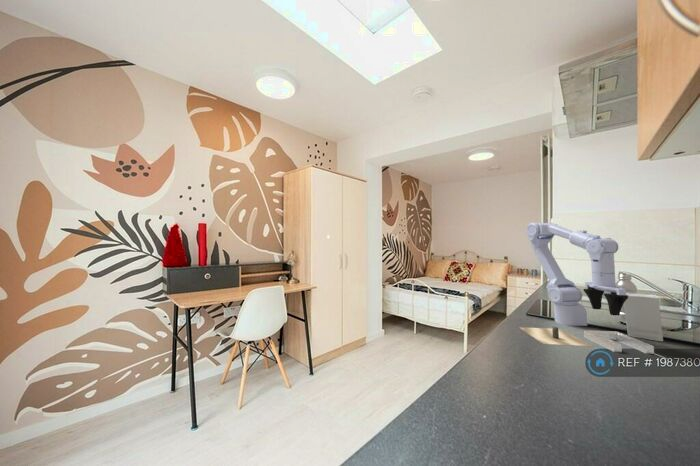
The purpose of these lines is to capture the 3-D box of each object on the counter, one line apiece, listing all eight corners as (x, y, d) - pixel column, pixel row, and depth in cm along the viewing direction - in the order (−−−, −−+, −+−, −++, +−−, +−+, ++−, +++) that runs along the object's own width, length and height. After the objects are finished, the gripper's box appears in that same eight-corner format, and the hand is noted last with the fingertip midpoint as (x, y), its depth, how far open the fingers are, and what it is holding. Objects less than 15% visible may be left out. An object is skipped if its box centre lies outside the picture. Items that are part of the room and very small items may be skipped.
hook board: (559, 331, 95) (559, 319, 95) (593, 349, 79) (592, 334, 79) (519, 330, 97) (518, 318, 97) (543, 347, 81) (542, 332, 81)
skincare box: (661, 337, 88) (658, 294, 88) (663, 342, 83) (660, 297, 84) (625, 331, 94) (623, 291, 94) (626, 336, 89) (623, 294, 90)
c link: (617, 340, 85) (617, 331, 85) (654, 356, 73) (653, 346, 73) (584, 339, 87) (583, 330, 87) (614, 354, 75) (613, 344, 75)
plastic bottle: (645, 326, 98) (641, 275, 99) (624, 326, 100) (621, 275, 100) (630, 321, 105) (627, 273, 105) (611, 321, 106) (608, 273, 107)
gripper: (575, 270, 96) (577, 306, 95) (607, 275, 81) (609, 317, 81) (596, 270, 94) (598, 306, 94) (632, 275, 80) (635, 318, 80)
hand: (605, 312), depth 87 cm, fingers open, 7 cm apart
